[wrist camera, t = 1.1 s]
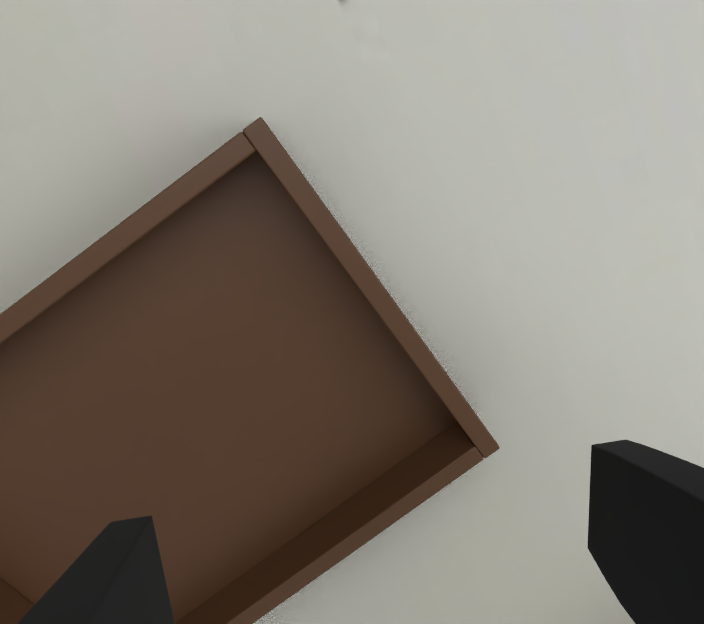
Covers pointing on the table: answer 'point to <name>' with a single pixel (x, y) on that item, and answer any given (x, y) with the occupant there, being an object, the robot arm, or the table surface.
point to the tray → (219, 396)
